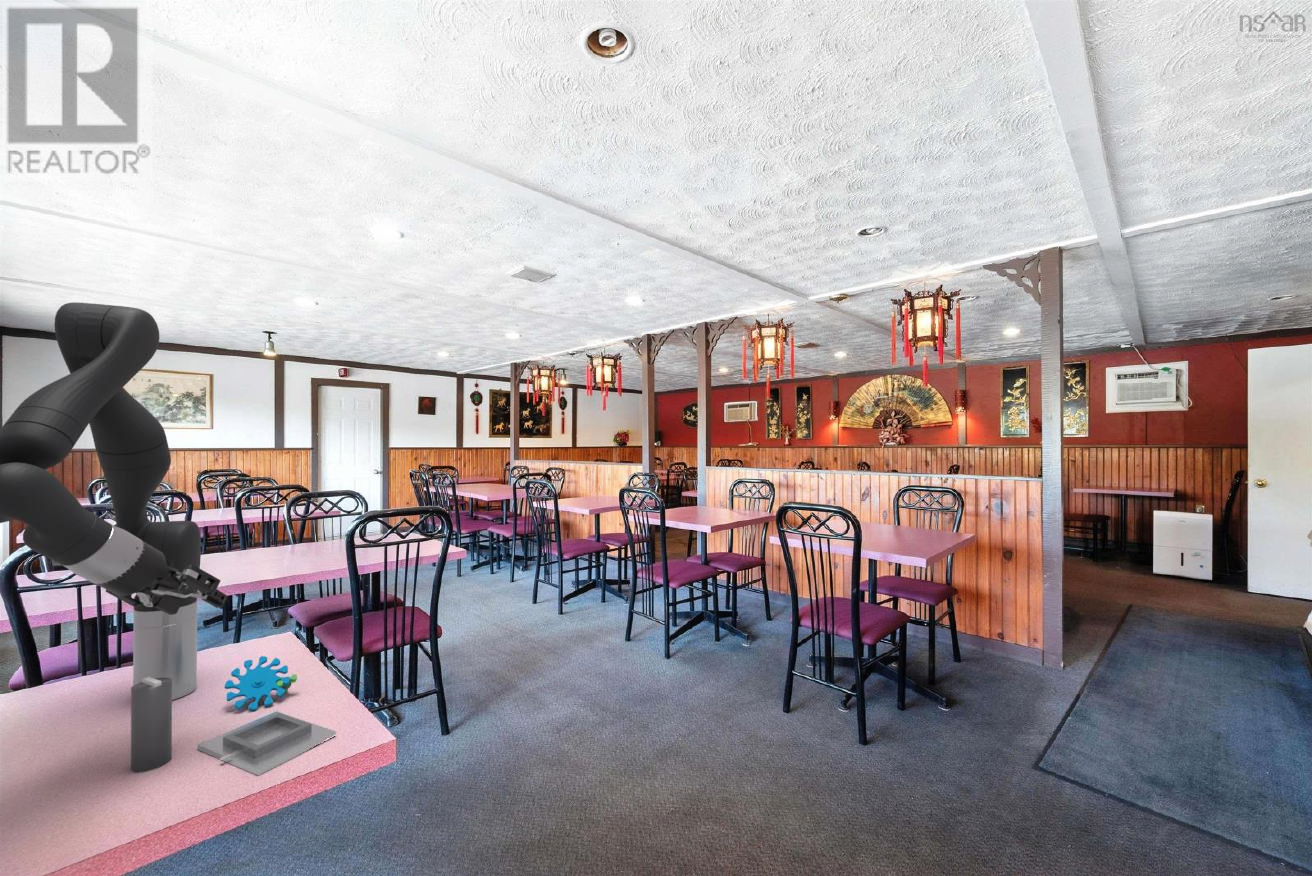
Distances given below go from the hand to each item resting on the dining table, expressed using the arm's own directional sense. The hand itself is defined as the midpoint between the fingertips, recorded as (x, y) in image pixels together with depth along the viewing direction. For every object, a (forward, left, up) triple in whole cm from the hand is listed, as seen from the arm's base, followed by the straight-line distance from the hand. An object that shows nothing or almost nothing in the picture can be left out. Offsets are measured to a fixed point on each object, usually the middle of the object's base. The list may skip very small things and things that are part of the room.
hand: (199, 605), depth 94 cm
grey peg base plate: (+14, +3, -21) cm, 26 cm away
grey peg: (+4, -8, -21) cm, 23 cm away
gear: (-2, +11, -21) cm, 24 cm away
